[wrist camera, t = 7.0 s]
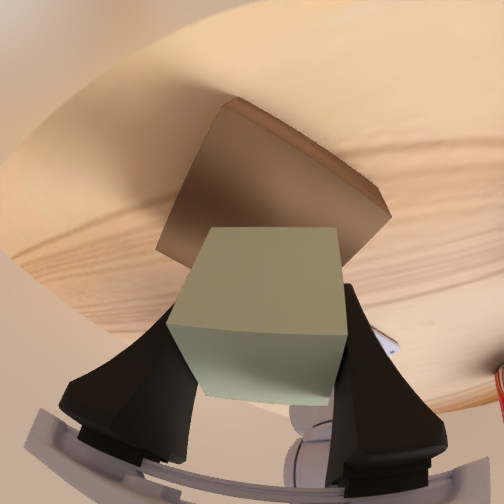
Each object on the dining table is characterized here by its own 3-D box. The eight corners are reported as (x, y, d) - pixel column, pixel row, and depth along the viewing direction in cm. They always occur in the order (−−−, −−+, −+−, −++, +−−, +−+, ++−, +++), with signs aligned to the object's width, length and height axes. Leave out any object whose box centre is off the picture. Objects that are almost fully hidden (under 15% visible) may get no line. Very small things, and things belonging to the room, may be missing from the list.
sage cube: (328, 312, 14) (327, 405, 10) (230, 309, 15) (205, 395, 11) (336, 227, 11) (347, 334, 7) (211, 227, 12) (165, 323, 8)
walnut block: (290, 278, 23) (287, 317, 20) (177, 217, 21) (155, 249, 18) (376, 185, 17) (392, 216, 14) (240, 96, 15) (222, 106, 12)
